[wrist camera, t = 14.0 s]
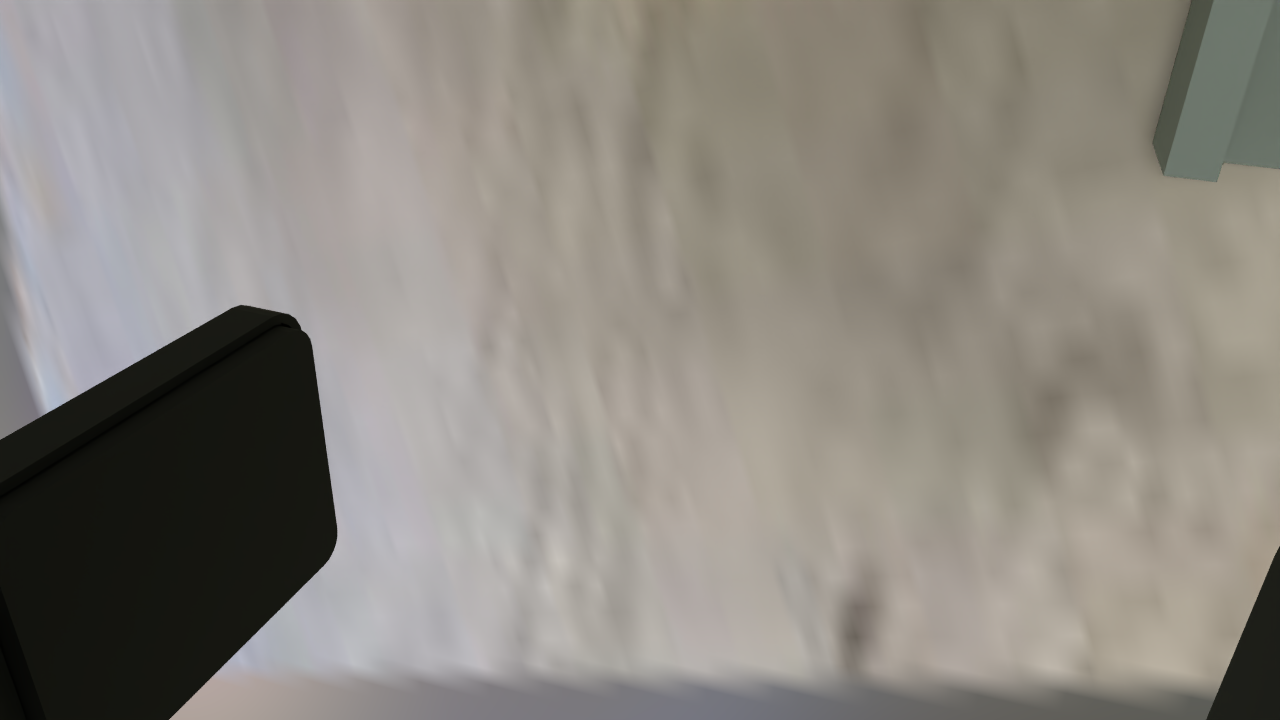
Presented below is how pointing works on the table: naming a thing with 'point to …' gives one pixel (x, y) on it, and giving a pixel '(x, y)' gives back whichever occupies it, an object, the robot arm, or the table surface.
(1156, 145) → the rail rack
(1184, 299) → the table surface
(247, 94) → the table surface
